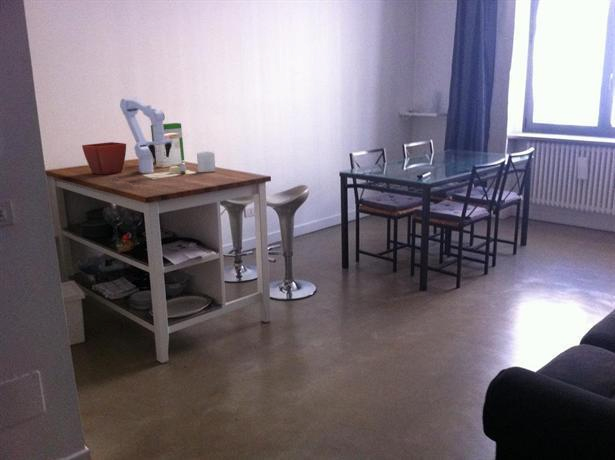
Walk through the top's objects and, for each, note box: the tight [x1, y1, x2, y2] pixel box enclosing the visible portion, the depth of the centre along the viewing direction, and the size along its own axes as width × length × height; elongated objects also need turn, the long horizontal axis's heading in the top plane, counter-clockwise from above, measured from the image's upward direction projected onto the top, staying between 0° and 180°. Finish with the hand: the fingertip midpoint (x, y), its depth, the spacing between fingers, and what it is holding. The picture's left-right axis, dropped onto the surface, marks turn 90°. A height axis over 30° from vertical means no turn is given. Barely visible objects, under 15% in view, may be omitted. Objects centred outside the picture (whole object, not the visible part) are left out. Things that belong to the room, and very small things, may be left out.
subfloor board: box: [142, 169, 197, 180], centre depth 337 cm, size 18×26×1 cm
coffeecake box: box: [155, 133, 183, 168], centre depth 372 cm, size 15×7×20 cm, turn 144°
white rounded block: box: [196, 149, 216, 173], centre depth 342 cm, size 10×4×12 cm, turn 126°
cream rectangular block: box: [168, 164, 187, 174], centre depth 340 cm, size 5×8×4 cm, turn 124°
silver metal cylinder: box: [179, 162, 186, 174], centre depth 334 cm, size 3×3×6 cm
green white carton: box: [150, 122, 185, 163], centre depth 390 cm, size 18×7×24 cm, turn 126°
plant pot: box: [81, 141, 127, 176], centre depth 353 cm, size 19×19×17 cm
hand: (161, 157), depth 336 cm, fingers open, 7 cm apart
